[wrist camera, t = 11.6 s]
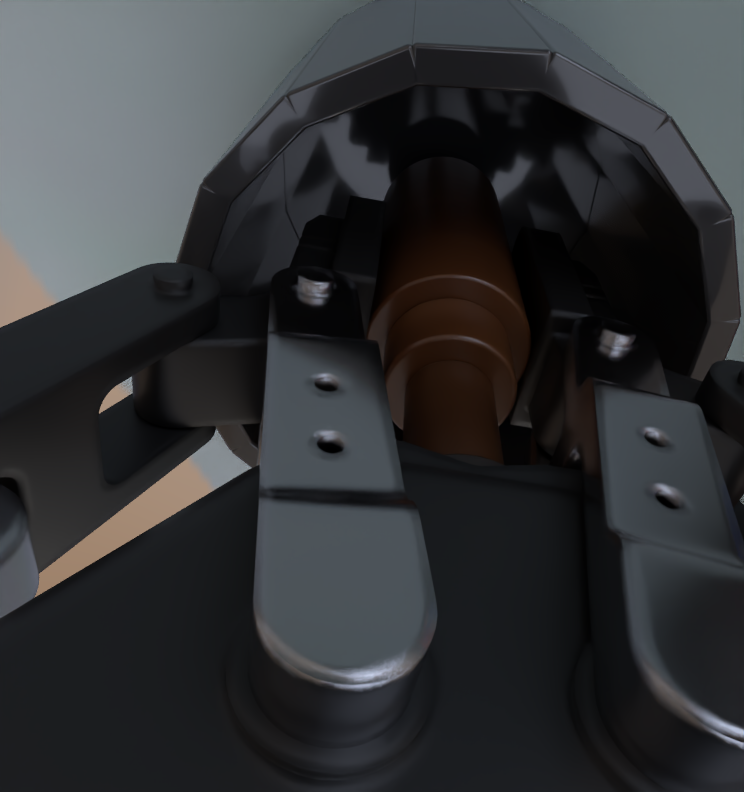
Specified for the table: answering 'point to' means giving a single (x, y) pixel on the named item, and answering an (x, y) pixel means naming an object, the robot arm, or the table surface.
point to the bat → (448, 311)
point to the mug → (481, 167)
